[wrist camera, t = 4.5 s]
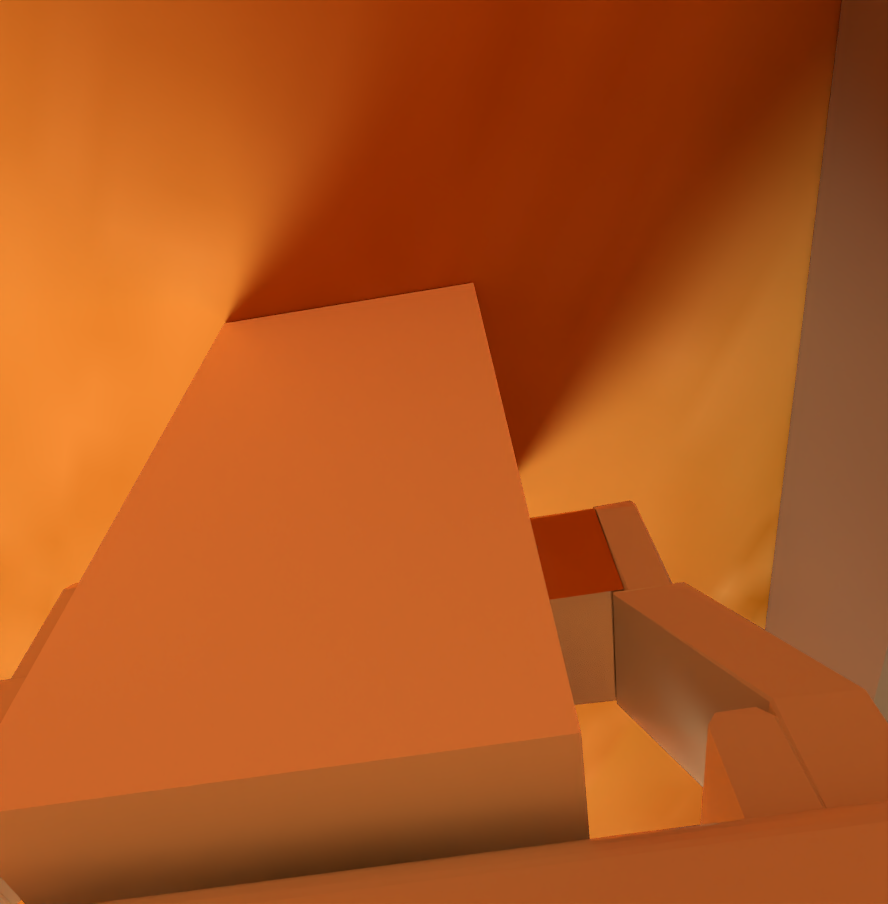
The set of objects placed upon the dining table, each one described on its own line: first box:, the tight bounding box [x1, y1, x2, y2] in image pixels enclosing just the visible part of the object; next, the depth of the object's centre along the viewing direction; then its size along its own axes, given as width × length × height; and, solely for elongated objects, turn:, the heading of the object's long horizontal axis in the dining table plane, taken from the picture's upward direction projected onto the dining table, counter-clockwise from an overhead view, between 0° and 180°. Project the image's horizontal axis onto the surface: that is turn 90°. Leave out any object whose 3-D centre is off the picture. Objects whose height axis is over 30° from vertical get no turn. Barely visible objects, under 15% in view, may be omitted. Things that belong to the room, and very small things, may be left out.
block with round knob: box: [0, 283, 589, 904], centre depth 9 cm, size 4×4×10 cm
